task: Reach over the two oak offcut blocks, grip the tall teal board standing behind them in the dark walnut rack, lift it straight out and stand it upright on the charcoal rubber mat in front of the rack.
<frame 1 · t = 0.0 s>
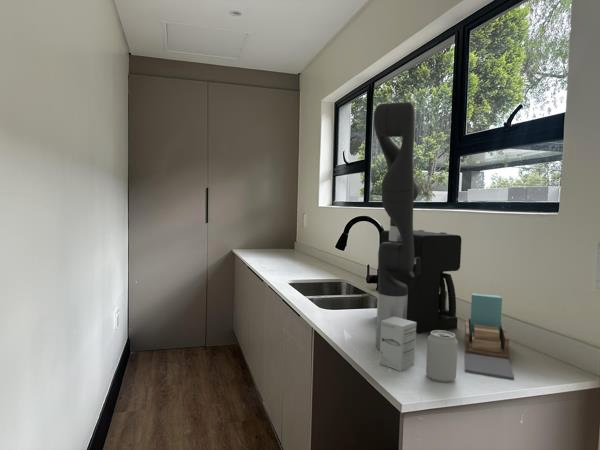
hand: (398, 286, 145), 17 cm above the worktop, tool pointing down, fingers open, 8 cm apart
lower offcut: (485, 347, 133), point 1 cm above the worktop, touching upper offcut, walnut rack
coffee maker: (419, 324, 161), on the worktop
teal board: (484, 340, 140), point 1 cm above the worktop, touching walnut rack
charcoal mat: (487, 366, 119), on the worktop
can: (440, 378, 111), on the worktop
upper offcut: (485, 337, 133), point 4 cm above the worktop, touching lower offcut
supplement box: (396, 365, 119), on the worktop
walnut rack: (484, 347, 135), on the worktop
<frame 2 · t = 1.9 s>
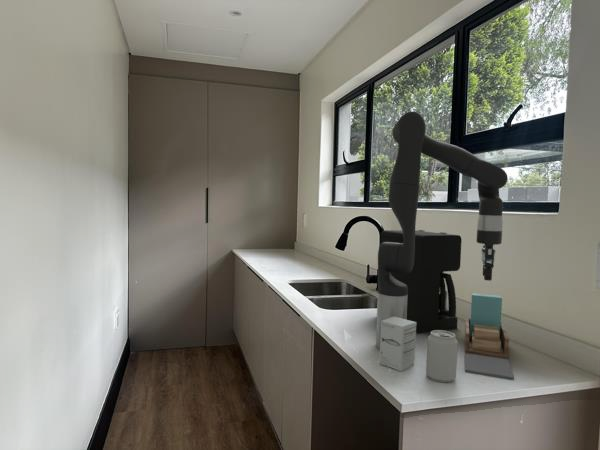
hand: (486, 278, 139), 22 cm above the worktop, tool pointing down, fingers open, 8 cm apart
nothing on the worktop moved.
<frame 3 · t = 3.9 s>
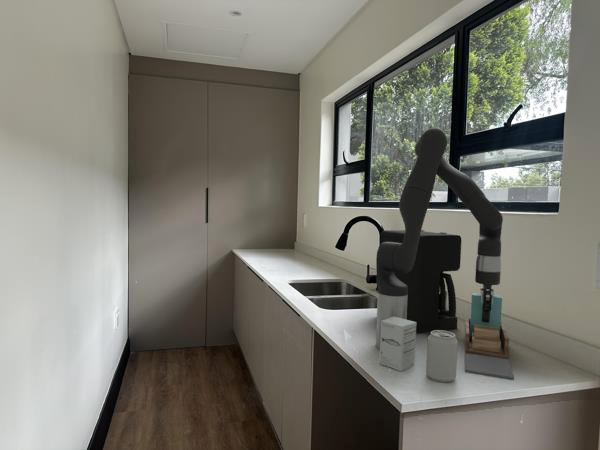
hand: (485, 320, 139), 8 cm above the worktop, tool pointing down, fingers closed on teal board, 3 cm apart
teal board: (484, 340, 140), point 1 cm above the worktop, touching gripper, walnut rack
everything else where it was.
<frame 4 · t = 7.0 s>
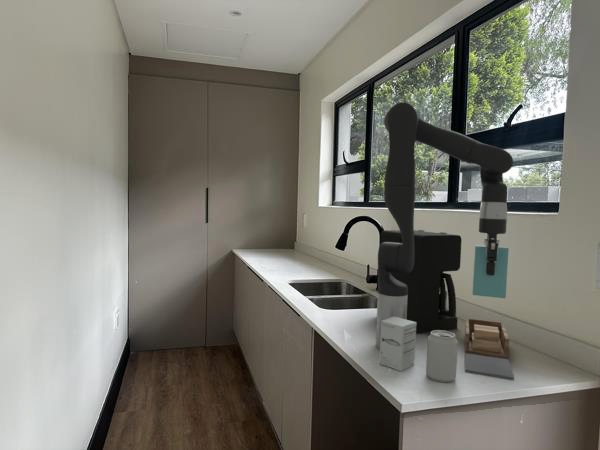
hand: (489, 274, 128), 25 cm above the worktop, tool pointing down, fingers closed on teal board, 3 cm apart
teal board: (488, 295, 128), point 18 cm above the worktop, touching gripper
everything else where it was.
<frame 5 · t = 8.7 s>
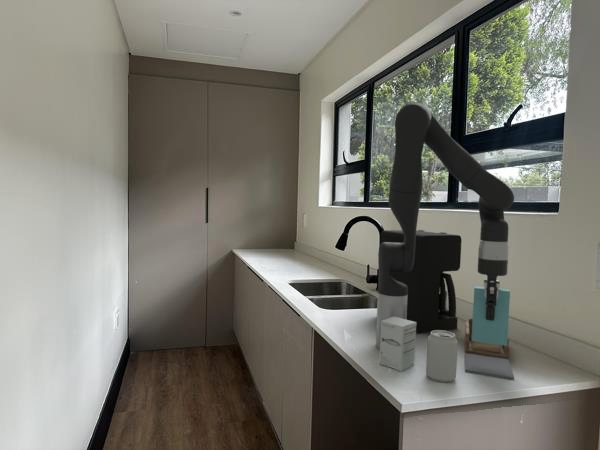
hand: (489, 318, 118), 14 cm above the worktop, tool pointing down, fingers closed on teal board, 3 cm apart
teal board: (488, 341, 118), point 7 cm above the worktop, touching gripper
everything else where it was.
when the fingers open (9 cm above the worktop, at t = 10.1 s): teal board drops 2 cm, resting on charcoal mat.
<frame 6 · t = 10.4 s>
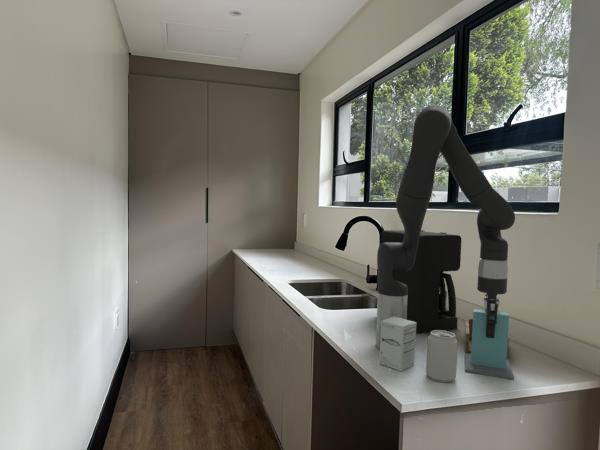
hand: (489, 334, 119), 9 cm above the worktop, tool pointing down, fingers open, 5 cm apart
teal board: (487, 364, 119), point 1 cm above the worktop, touching charcoal mat
everything else where it was.
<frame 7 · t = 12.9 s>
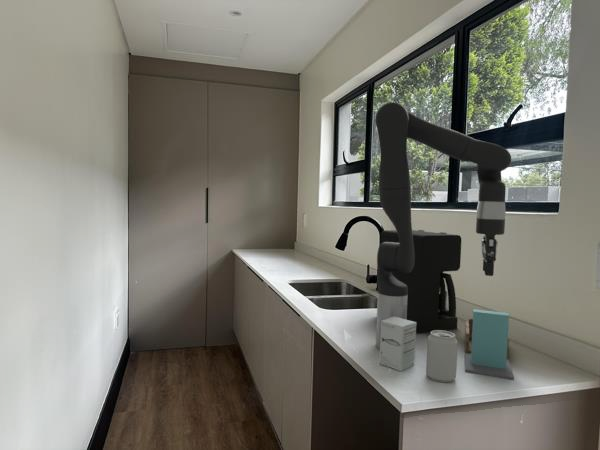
hand: (487, 273, 122), 26 cm above the worktop, tool pointing down, fingers open, 8 cm apart
nothing on the worktop moved.
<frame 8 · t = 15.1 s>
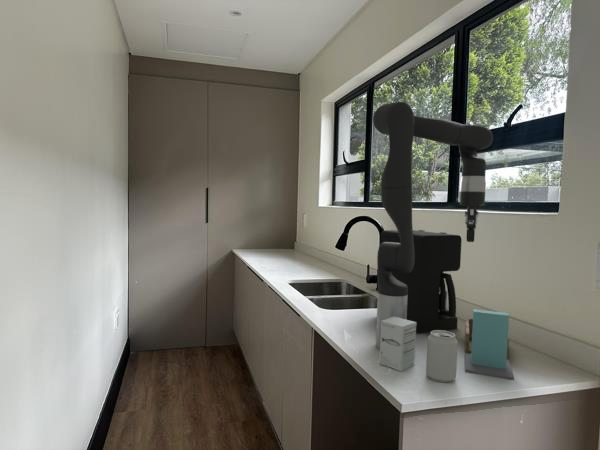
hand: (470, 240, 137), 34 cm above the worktop, tool pointing down, fingers open, 8 cm apart
nothing on the worktop moved.
at the end: teal board inside the target area (0.1 cm from its centre), point 0.6 cm above the worktop; teal board tilted 0°; upper offcut moved 0.0 cm from its start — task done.
